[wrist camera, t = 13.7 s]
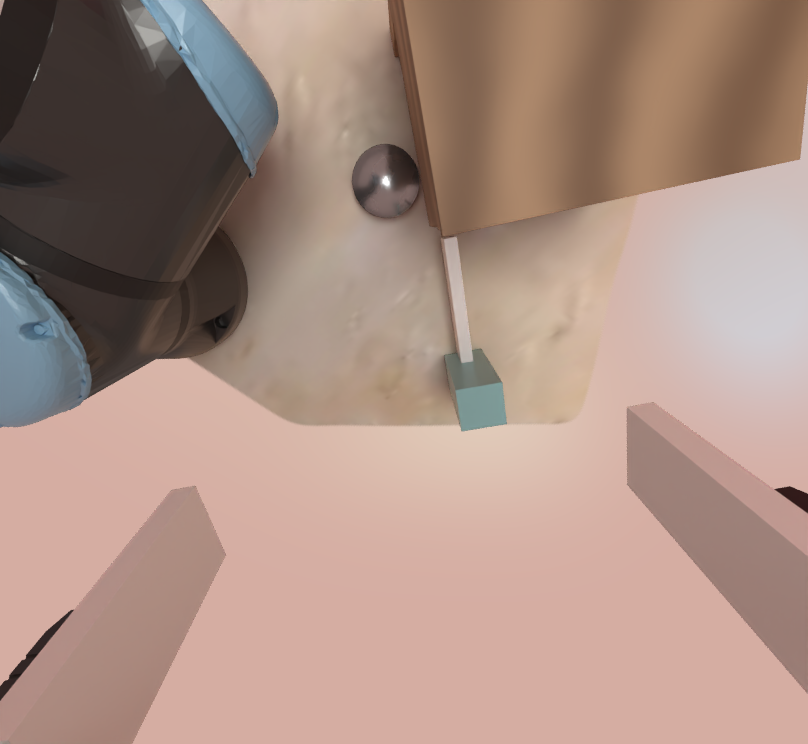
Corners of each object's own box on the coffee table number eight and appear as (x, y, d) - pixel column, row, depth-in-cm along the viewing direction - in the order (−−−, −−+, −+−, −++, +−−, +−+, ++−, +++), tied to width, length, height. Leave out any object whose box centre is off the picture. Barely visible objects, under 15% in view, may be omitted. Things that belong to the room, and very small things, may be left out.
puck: (365, 225, 41) (363, 225, 39) (347, 159, 39) (343, 155, 37) (425, 208, 40) (426, 207, 38) (409, 140, 38) (410, 135, 36)
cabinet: (422, 229, 41) (443, 236, 20) (385, 25, 35) (361, -247, 15) (594, 191, 40) (800, 159, 19) (583, -25, 34) (854, -394, 14)
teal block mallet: (449, 389, 46) (461, 431, 37) (426, 240, 41) (433, 245, 32) (485, 382, 46) (506, 423, 37) (466, 232, 41) (486, 235, 32)
